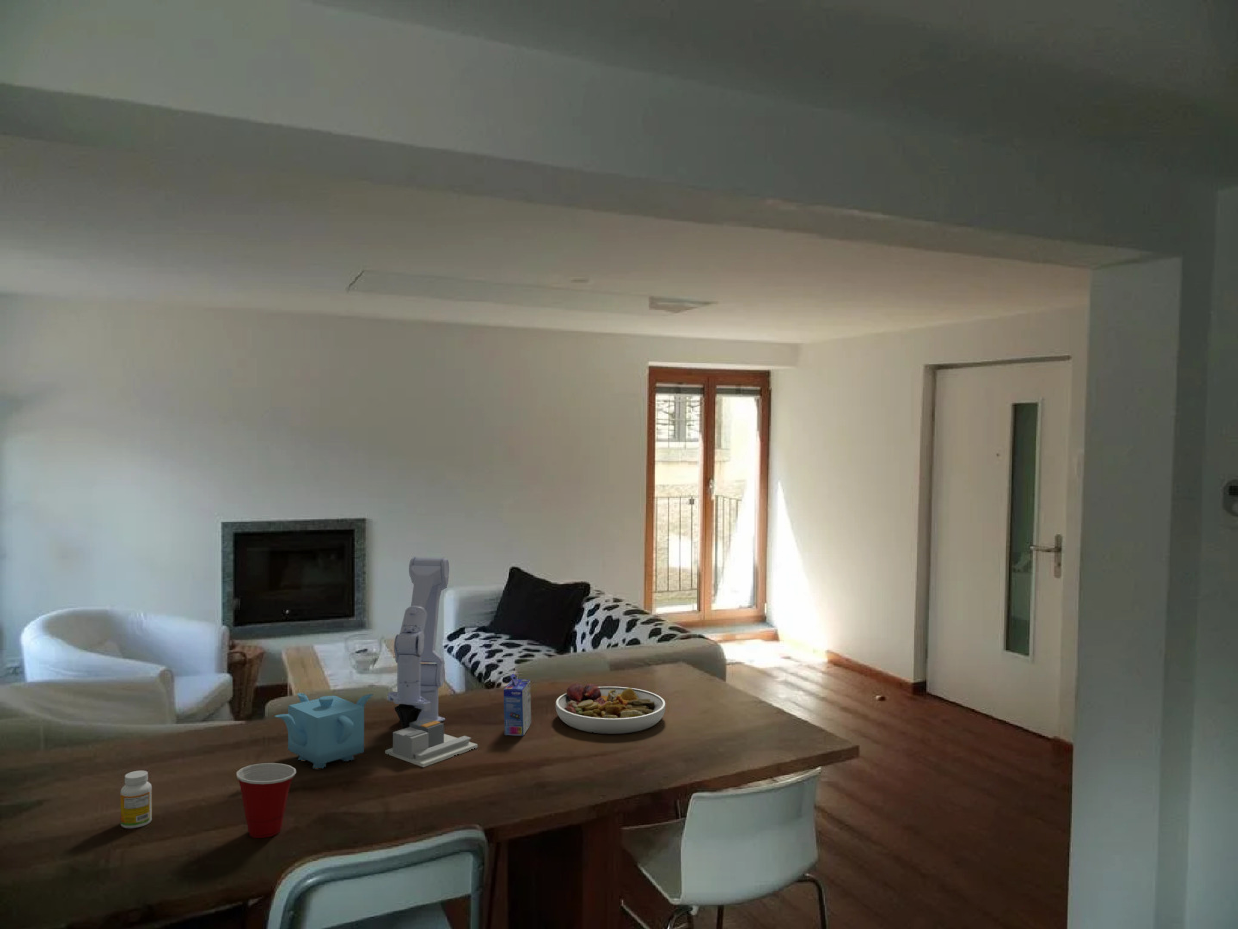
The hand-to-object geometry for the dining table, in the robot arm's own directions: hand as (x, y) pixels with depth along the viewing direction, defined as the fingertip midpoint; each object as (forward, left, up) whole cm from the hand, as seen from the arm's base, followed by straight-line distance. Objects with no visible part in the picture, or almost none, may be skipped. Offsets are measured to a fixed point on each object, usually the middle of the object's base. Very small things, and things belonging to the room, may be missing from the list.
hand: (408, 733), depth 223 cm
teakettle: (-6, -20, -2) cm, 21 cm away
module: (+7, 0, -1) cm, 7 cm away
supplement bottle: (-3, -64, -2) cm, 65 cm away
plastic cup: (+20, -50, -2) cm, 54 cm away
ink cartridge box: (+15, +24, -2) cm, 28 cm away
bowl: (+28, +47, -2) cm, 54 cm away
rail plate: (+10, -1, -2) cm, 10 cm away
